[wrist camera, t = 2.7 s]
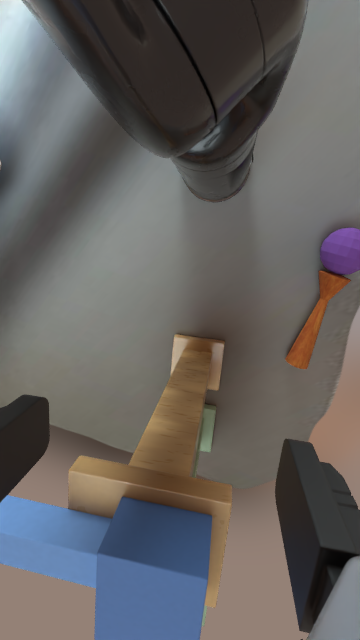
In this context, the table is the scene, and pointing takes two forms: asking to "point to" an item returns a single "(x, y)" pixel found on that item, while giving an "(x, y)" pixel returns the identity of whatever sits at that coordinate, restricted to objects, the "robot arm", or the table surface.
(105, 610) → the peg
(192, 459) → the tall stand
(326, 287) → the kendama
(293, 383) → the table surface
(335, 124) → the table surface
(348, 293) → the table surface
